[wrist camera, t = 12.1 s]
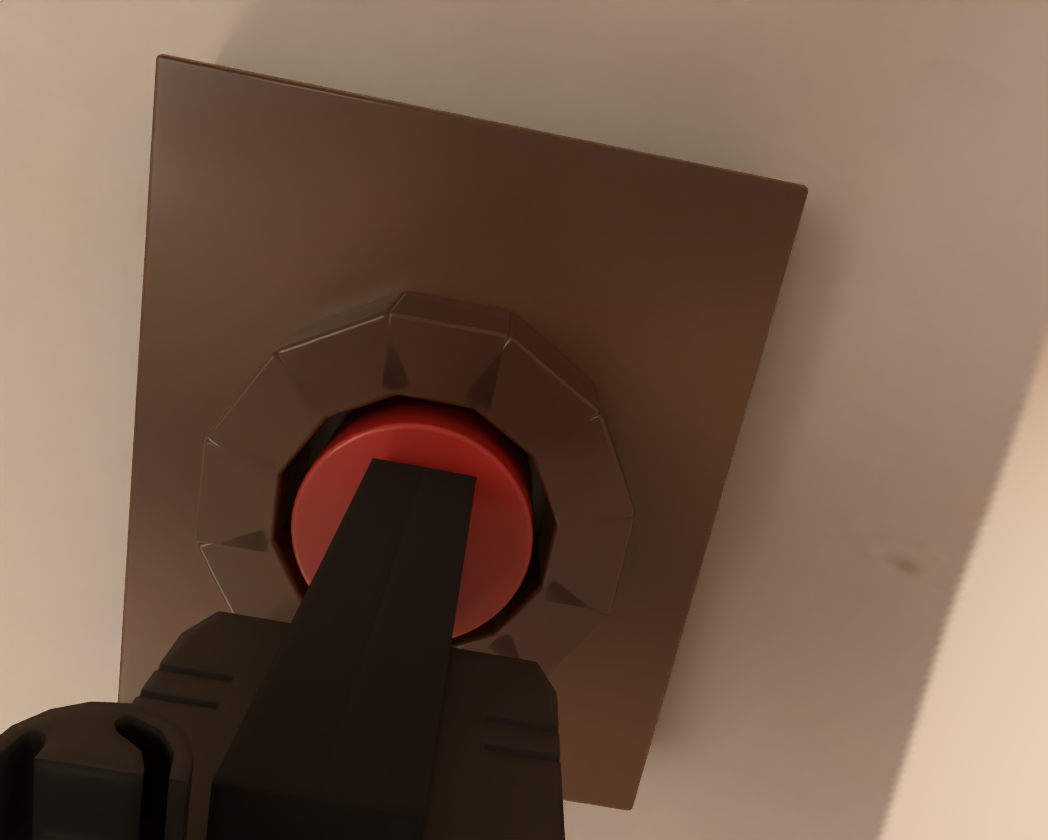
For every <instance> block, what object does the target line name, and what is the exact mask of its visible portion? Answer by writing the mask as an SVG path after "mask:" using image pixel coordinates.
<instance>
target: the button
mask: <svg viewBox="0 0 1048 840" xmlns="http://www.w3.org/2000/svg"><path fill="white" fill-rule="evenodd" d="M372 458H377V459H382V460H388V461H393V462H399V463H404V464H410V465H415V466H421V467H426V468H432V469H437V470H443V471H448V472H454V473H459V474H465V475H470V476H476V477H477V479H476V486H475V492H474V499H473V505H472V512H471V518H470V525H469V532H468V538H467V545H466V551H465V558H464V564H463V571H462V577H461V584H460V590H459V597H458V603H457V610H456V616H455V623H454V629H453V636H452V638H454V637H457V636H460V635H463V634H465V633H468V632H470V631H472V630H474V629H476V628H478V627H479V626H481V625H483V624H484V623H485V622H487V621H488V620H490V619H491V618H493V617H494V616H495V615H496V614H497V613H498V612H499V611H501V610H502V609H503V608H504V607H505V606H506V605H507V603H508V602H509V601H510V600H511V599H512V597H513V596H514V595H515V593H516V592H517V590H518V588H519V587H520V585H521V584H522V581H523V579H524V577H525V575H526V573H527V570H528V566H529V563H530V560H531V555H532V548H533V493H532V482H531V475H530V472H529V468H528V465H527V462H526V460H525V457H524V455H523V453H522V451H521V449H520V447H519V446H518V445H517V444H516V443H514V442H513V441H512V440H511V439H510V438H508V437H507V436H506V435H505V434H503V433H502V432H501V431H500V430H499V429H497V428H496V427H495V426H494V425H493V424H491V423H490V422H489V421H488V420H486V419H485V418H484V417H483V416H482V415H480V414H479V413H478V412H477V411H475V410H474V409H472V408H466V407H461V406H456V405H450V404H445V403H439V402H434V401H429V400H423V399H418V398H413V397H407V396H402V395H396V396H393V397H390V398H387V399H384V400H381V401H378V402H375V403H372V404H369V405H366V406H364V407H362V408H360V409H358V410H357V411H356V412H355V413H353V414H352V415H351V416H349V417H348V418H347V419H346V420H345V421H344V422H343V423H342V424H341V425H340V426H339V427H338V428H337V430H336V431H335V432H334V434H333V435H332V436H331V438H330V439H329V441H328V442H327V444H326V445H325V447H324V448H323V450H322V451H321V453H320V454H319V456H318V457H317V459H316V460H315V462H314V463H313V465H312V466H311V468H310V469H309V471H308V472H307V474H306V476H305V477H304V479H303V481H302V483H301V485H300V487H299V489H298V492H297V495H296V498H295V501H294V506H293V511H292V517H291V536H292V545H293V549H294V554H295V558H296V561H297V563H298V566H299V568H300V571H301V573H302V575H303V577H304V579H305V581H306V582H307V584H308V586H309V585H310V583H311V581H312V579H313V577H314V575H315V573H316V571H317V569H318V567H319V565H320V563H321V561H322V559H323V557H324V555H325V553H326V551H327V549H328V547H329V545H330V543H331V541H332V539H333V537H334V535H335V533H336V531H337V529H338V527H339V525H340V523H341V521H342V519H343V517H344V515H345V513H346V511H347V509H348V507H349V505H350V503H351V501H352V499H353V497H354V495H355V493H356V491H357V489H358V487H359V485H360V483H361V481H362V479H363V477H364V475H365V473H366V470H367V468H368V466H369V464H370V462H371V460H372Z"/></svg>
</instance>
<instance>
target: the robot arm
mask: <svg viewBox="0 0 1048 840" xmlns="http://www.w3.org/2000/svg"><path fill="white" fill-rule="evenodd" d="M476 479H477V477H476V476H470V475H465V474H459V473H454V472H448V471H443V470H437V469H432V468H426V467H421V466H415V465H410V464H404V463H399V462H393V461H388V460H382V459H377V458H372V460H371V462H370V464H369V466H368V468H367V470H366V473H365V475H364V477H363V479H362V481H361V483H360V485H359V487H358V489H357V491H356V493H355V495H354V497H353V499H352V501H351V503H350V505H349V507H348V509H347V511H346V513H345V515H344V517H343V519H342V521H341V523H340V525H339V527H338V529H337V531H336V533H335V535H334V537H333V539H332V541H331V543H330V545H329V547H328V549H327V551H326V553H325V555H324V557H323V559H322V561H321V563H320V565H319V567H318V569H317V571H316V573H315V575H314V577H313V579H312V581H311V583H310V585H309V587H308V589H307V591H306V593H305V595H304V597H303V599H302V602H301V604H300V606H299V608H298V610H297V612H296V614H295V616H294V618H293V620H292V622H291V623H287V622H281V621H276V620H270V619H264V618H258V617H252V616H246V615H240V614H235V613H229V612H223V611H217V612H216V613H214V614H212V615H211V616H209V617H207V618H206V619H204V620H202V621H201V622H199V623H197V624H196V625H194V626H192V627H191V628H189V629H187V630H186V631H184V632H182V633H181V634H180V636H179V637H178V639H177V640H176V641H175V643H174V644H173V646H172V647H171V648H170V650H169V651H168V653H167V654H166V655H165V657H164V658H163V660H162V661H161V662H160V664H159V668H158V670H155V671H154V672H153V674H152V675H151V677H150V678H149V679H148V681H147V682H146V684H145V685H144V686H143V688H142V689H141V693H140V696H139V697H136V698H135V699H134V700H133V702H132V703H113V702H87V703H81V704H76V705H71V706H65V707H60V708H54V709H50V710H47V711H45V712H43V713H40V714H38V715H36V716H33V717H31V718H29V719H26V720H24V721H22V722H19V723H17V724H15V725H12V726H11V727H10V728H8V729H7V730H6V731H5V732H3V733H2V734H1V735H0V840H565V832H564V813H563V794H562V776H561V763H560V739H559V733H558V729H559V720H558V701H557V692H556V691H555V689H554V688H553V686H552V684H551V683H550V681H549V680H548V678H547V677H546V675H545V673H544V672H543V670H542V669H541V667H540V666H539V664H538V662H535V661H529V660H523V659H517V658H511V657H506V656H500V655H494V654H488V653H482V652H476V651H471V650H465V649H459V648H453V647H451V643H452V636H453V629H454V623H455V616H456V610H457V603H458V597H459V590H460V584H461V577H462V571H463V564H464V558H465V551H466V545H467V538H468V532H469V525H470V518H471V512H472V505H473V499H474V492H475V486H476Z"/></svg>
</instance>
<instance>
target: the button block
mask: <svg viewBox="0 0 1048 840" xmlns="http://www.w3.org/2000/svg"><path fill="white" fill-rule="evenodd" d="M807 194H808V188H807V187H806V186H804V185H801V184H796V183H791V182H786V181H781V180H776V179H771V178H766V177H761V176H757V175H752V174H747V173H742V172H737V171H732V170H727V169H722V168H718V167H713V166H708V165H703V164H698V163H693V162H688V161H683V160H678V159H674V158H669V157H664V156H659V155H654V154H649V153H644V152H639V151H634V150H630V149H625V148H620V147H615V146H610V145H605V144H600V143H595V142H591V141H586V140H581V139H576V138H571V137H566V136H561V135H556V134H551V133H547V132H542V131H537V130H532V129H527V128H522V127H517V126H512V125H507V124H503V123H498V122H493V121H488V120H483V119H478V118H473V117H468V116H464V115H459V114H454V113H449V112H444V111H439V110H434V109H429V108H424V107H420V106H415V105H410V104H405V103H400V102H395V101H390V100H385V99H380V98H376V97H371V96H366V95H361V94H356V93H351V92H346V91H341V90H337V89H332V88H327V87H322V86H317V85H312V84H307V83H302V82H297V81H293V80H288V79H283V78H278V77H273V76H268V75H263V74H258V73H253V72H249V71H244V70H239V69H234V68H229V67H224V66H219V65H214V64H210V63H205V62H200V61H195V60H190V59H185V58H180V57H175V56H170V55H166V54H160V55H158V56H157V59H156V73H155V90H154V107H153V124H152V141H151V157H150V174H149V191H148V208H147V224H146V241H145V258H144V275H143V292H142V308H141V325H140V342H139V359H138V375H137V392H136V409H135V426H134V443H133V459H132V476H131V493H130V510H129V527H128V543H127V560H126V577H125V594H124V610H123V627H122V644H121V661H120V678H119V694H118V703H132V702H133V700H134V699H135V698H136V697H139V696H140V693H141V689H142V688H143V686H144V685H145V684H146V682H147V681H148V679H149V678H150V677H151V675H152V674H153V672H154V671H155V670H158V668H159V664H160V662H161V661H162V660H163V658H164V657H165V655H166V654H167V653H168V651H169V650H170V648H171V647H172V646H173V644H174V643H175V641H176V640H177V639H178V637H179V636H180V634H181V633H182V632H184V631H186V630H187V629H189V628H191V627H192V626H194V625H196V624H197V623H199V622H201V621H202V620H204V619H206V618H207V617H209V616H211V615H212V614H214V613H216V612H217V611H223V612H229V613H235V614H240V615H246V616H252V617H258V618H264V619H270V620H276V621H281V622H287V623H291V622H292V620H293V618H294V616H295V614H296V612H297V610H298V608H299V606H300V604H301V602H302V599H303V597H304V595H305V593H306V591H307V589H308V587H309V586H308V584H307V582H306V581H305V579H304V577H303V575H302V573H301V571H300V568H299V566H298V563H297V561H296V558H295V554H294V549H293V545H292V536H291V517H292V511H293V506H294V501H295V498H296V495H297V492H298V489H299V487H300V485H301V483H302V481H303V479H304V477H305V476H306V474H307V472H308V471H309V469H310V468H311V466H312V465H313V463H314V462H315V460H316V459H317V457H318V456H319V454H320V453H321V451H322V450H323V448H324V447H325V445H326V444H327V442H328V441H329V439H330V438H331V436H332V435H333V434H334V432H335V431H336V430H337V428H338V427H339V426H340V425H341V424H342V423H343V422H344V421H345V420H346V419H347V418H348V417H349V416H351V415H352V414H353V413H355V412H356V411H357V410H358V409H360V408H362V407H364V406H366V405H369V404H372V403H375V402H378V401H381V400H384V399H387V398H390V397H393V396H396V395H402V396H407V397H413V398H418V399H423V400H429V401H434V402H439V403H445V404H450V405H456V406H461V407H466V408H472V409H474V410H475V411H477V412H478V413H479V414H480V415H482V416H483V417H484V418H485V419H486V420H488V421H489V422H490V423H491V424H493V425H494V426H495V427H496V428H497V429H499V430H500V431H501V432H502V433H503V434H505V435H506V436H507V437H508V438H510V439H511V440H512V441H513V442H514V443H516V444H517V445H518V446H519V447H520V449H521V451H522V453H523V455H524V457H525V460H526V462H527V465H528V468H529V472H530V475H531V482H532V493H533V548H532V555H531V560H530V563H529V566H528V570H527V573H526V575H525V577H524V579H523V581H522V584H521V585H520V587H519V588H518V590H517V592H516V593H515V595H514V596H513V597H512V599H511V600H510V601H509V602H508V603H507V605H506V606H505V607H504V608H503V609H502V610H501V611H499V612H498V613H497V614H496V615H495V616H494V617H493V618H491V619H490V620H488V621H487V622H485V623H484V624H483V625H481V626H479V627H478V628H476V629H474V630H472V631H470V632H468V633H465V634H463V635H460V636H457V637H454V638H452V643H451V647H453V648H459V649H465V650H471V651H476V652H482V653H488V654H494V655H500V656H506V657H511V658H517V659H523V660H529V661H535V662H538V664H539V666H540V667H541V669H542V670H543V672H544V673H545V675H546V677H547V678H548V680H549V681H550V683H551V684H552V686H553V688H554V689H555V691H556V692H557V701H558V720H559V729H558V733H559V739H560V763H561V776H562V794H563V800H567V801H573V802H579V803H585V804H591V805H597V806H604V807H610V808H616V809H622V810H631V809H632V807H633V805H634V801H635V798H636V794H637V791H638V787H639V784H640V780H641V777H642V773H643V770H644V766H645V763H646V759H647V756H648V752H649V749H650V745H651V742H652V738H653V734H654V731H655V727H656V724H657V720H658V717H659V713H660V710H661V706H662V703H663V699H664V696H665V692H666V689H667V685H668V682H669V678H670V675H671V671H672V668H673V664H674V661H675V657H676V654H677V650H678V647H679V643H680V640H681V636H682V633H683V629H684V626H685V622H686V619H687V615H688V612H689V608H690V605H691V601H692V598H693V594H694V591H695V587H696V584H697V580H698V577H699V573H700V570H701V566H702V563H703V559H704V556H705V552H706V549H707V545H708V542H709V538H710V535H711V531H712V528H713V524H714V521H715V517H716V513H717V510H718V506H719V503H720V499H721V496H722V492H723V489H724V485H725V482H726V478H727V475H728V471H729V468H730V464H731V461H732V457H733V454H734V450H735V447H736V443H737V440H738V436H739V433H740V429H741V426H742V422H743V419H744V415H745V412H746V408H747V405H748V401H749V398H750V394H751V391H752V387H753V384H754V380H755V377H756V373H757V370H758V366H759V363H760V359H761V356H762V352H763V349H764V345H765V342H766V338H767V335H768V331H769V328H770V324H771V321H772V317H773V314H774V310H775V307H776V303H777V299H778V296H779V292H780V289H781V285H782V282H783V278H784V275H785V271H786V268H787V264H788V261H789V257H790V254H791V250H792V247H793V243H794V240H795V236H796V233H797V229H798V226H799V222H800V219H801V215H802V212H803V208H804V205H805V201H806V198H807Z"/></svg>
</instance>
